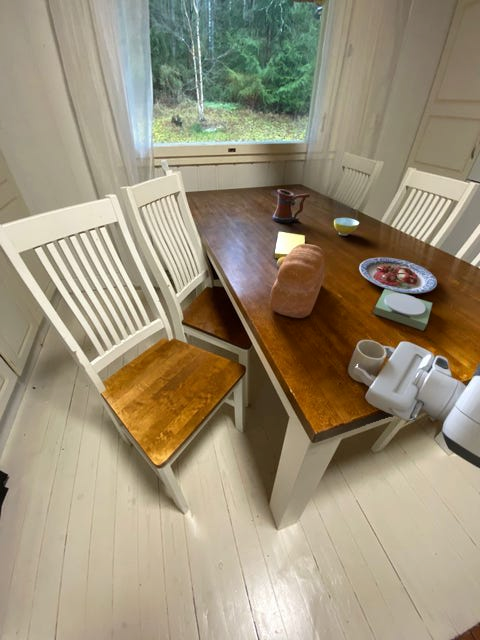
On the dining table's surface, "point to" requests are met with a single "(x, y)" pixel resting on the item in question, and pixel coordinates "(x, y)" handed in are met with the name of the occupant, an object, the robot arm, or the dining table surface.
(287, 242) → the pale yellow flat slab
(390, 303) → the scale
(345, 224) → the bowl
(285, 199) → the mug
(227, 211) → the dining table surface
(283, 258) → the bread roll
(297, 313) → the bread
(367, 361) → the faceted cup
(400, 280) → the ceramic plate
